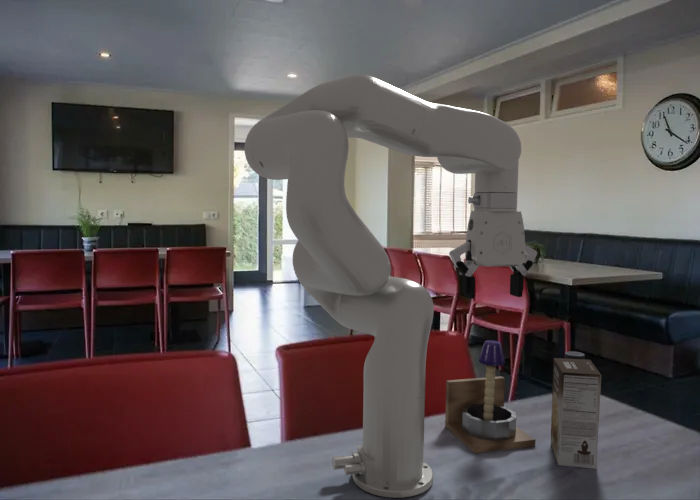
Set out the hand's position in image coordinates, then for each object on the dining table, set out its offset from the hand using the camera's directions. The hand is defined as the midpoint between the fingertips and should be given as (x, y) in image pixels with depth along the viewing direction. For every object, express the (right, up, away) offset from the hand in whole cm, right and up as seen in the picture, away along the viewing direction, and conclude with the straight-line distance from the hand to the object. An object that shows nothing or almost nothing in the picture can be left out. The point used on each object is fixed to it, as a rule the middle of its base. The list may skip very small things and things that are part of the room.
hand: (492, 296), depth 101 cm
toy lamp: (0, -25, +2) cm, 25 cm away
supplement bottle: (+23, -26, +20) cm, 39 cm away
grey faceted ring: (0, -25, +2) cm, 25 cm away
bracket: (0, -26, +2) cm, 26 cm away
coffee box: (+12, -27, -6) cm, 30 cm away
